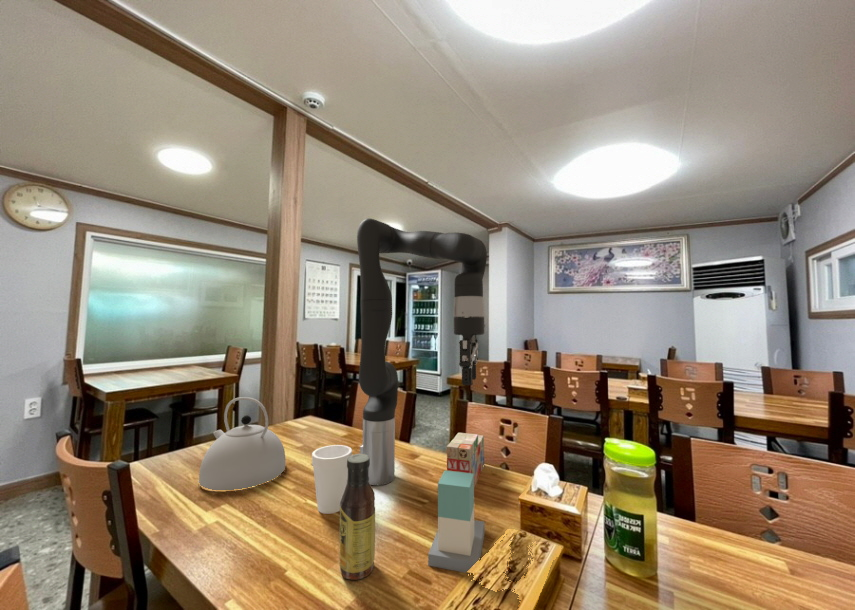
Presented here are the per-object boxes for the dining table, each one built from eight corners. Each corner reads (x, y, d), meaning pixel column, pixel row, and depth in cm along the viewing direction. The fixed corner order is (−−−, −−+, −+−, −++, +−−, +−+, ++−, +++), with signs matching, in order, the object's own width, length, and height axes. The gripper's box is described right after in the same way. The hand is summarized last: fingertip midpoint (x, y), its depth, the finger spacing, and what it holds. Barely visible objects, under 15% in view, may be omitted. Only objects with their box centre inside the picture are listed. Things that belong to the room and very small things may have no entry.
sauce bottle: (342, 559, 63) (343, 450, 64) (375, 557, 63) (376, 449, 65) (335, 585, 56) (337, 464, 58) (373, 583, 57) (374, 462, 58)
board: (428, 565, 61) (428, 554, 61) (443, 525, 74) (443, 515, 74) (477, 574, 59) (477, 562, 59) (484, 531, 71) (484, 521, 71)
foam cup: (358, 500, 84) (359, 447, 85) (336, 520, 75) (337, 461, 76) (326, 494, 87) (327, 443, 88) (302, 513, 78) (303, 456, 79)
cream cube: (438, 550, 62) (438, 516, 63) (444, 531, 68) (444, 500, 68) (470, 555, 61) (469, 521, 61) (474, 536, 66) (474, 504, 67)
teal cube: (437, 516, 63) (437, 483, 63) (444, 500, 68) (444, 470, 69) (469, 521, 61) (469, 487, 61) (474, 504, 67) (473, 473, 67)
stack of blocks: (465, 462, 108) (465, 423, 109) (484, 465, 106) (484, 425, 107) (446, 493, 88) (446, 445, 89) (470, 497, 86) (469, 448, 87)
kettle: (174, 482, 94) (178, 401, 96) (245, 454, 115) (247, 388, 117) (236, 499, 85) (240, 409, 87) (301, 465, 106) (303, 393, 107)
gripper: (458, 316, 90) (459, 377, 89) (448, 314, 77) (448, 386, 76) (486, 316, 89) (487, 378, 87) (481, 314, 75) (481, 387, 74)
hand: (469, 382), depth 82 cm, fingers open, 8 cm apart
